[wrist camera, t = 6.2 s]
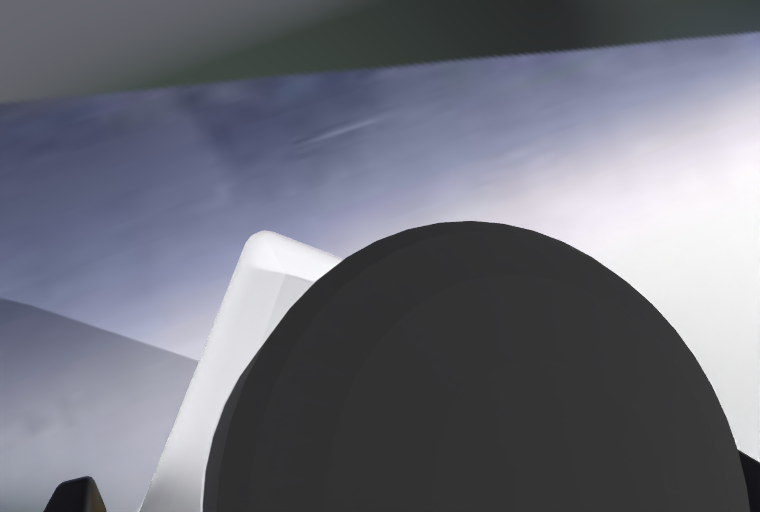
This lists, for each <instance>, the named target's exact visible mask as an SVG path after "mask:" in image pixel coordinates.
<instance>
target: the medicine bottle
mask: <svg viewBox="0 0 760 512" xmlns="http://www.w3.org/2000/svg"><path fill="white" fill-rule="evenodd" d="M140 512H750V506H749V499H748V492H747V486H746V482H745V478H744V474H743V469H742V465H741V461H740V457H739V453H738V450H737V447H736V444H735V441H734V438H733V435H732V432H731V429H730V426H729V424H728V421H727V418H726V416H725V413H724V411H723V409H722V407H721V405H720V403H719V400H718V398H717V396H716V394H715V392H714V389H713V387H712V385H711V384H710V382H709V380H708V378H707V377H706V375H705V373H704V372H703V370H702V368H701V366H700V365H699V363H698V361H697V360H696V358H695V356H694V355H693V353H692V352H691V351H690V349H689V348H688V347H687V345H686V344H685V343H684V341H683V340H682V338H681V337H680V336H679V334H678V333H677V332H676V330H675V329H674V328H673V327H672V326H671V324H670V323H669V322H668V321H667V320H666V319H665V318H664V317H663V316H662V314H661V313H660V312H659V311H658V310H657V309H656V308H655V307H654V306H653V305H652V304H651V303H650V302H649V301H648V300H647V299H646V298H645V297H643V296H642V295H641V294H640V293H639V292H638V291H637V290H635V289H634V288H633V287H632V286H631V285H630V284H629V283H627V282H626V281H625V280H623V279H622V278H621V277H619V276H618V275H617V274H615V273H614V272H612V271H611V270H609V269H608V268H607V267H605V266H604V265H602V264H601V263H599V262H598V261H597V260H595V259H594V258H592V257H590V256H589V255H587V254H585V253H583V252H581V251H579V250H577V249H575V248H574V247H572V246H570V245H568V244H566V243H564V242H562V241H559V240H556V239H554V238H551V237H549V236H546V235H543V234H541V233H538V232H535V231H532V230H528V229H523V228H519V227H515V226H511V225H506V224H500V223H489V222H477V221H463V222H445V223H436V224H432V225H427V226H422V227H417V228H412V229H408V230H405V231H402V232H400V233H397V234H394V235H391V236H389V237H386V238H383V239H381V240H378V241H376V242H374V243H372V244H370V245H368V246H367V247H365V248H363V249H361V250H359V251H358V252H356V253H354V254H352V255H350V256H349V257H347V258H345V259H343V258H341V257H338V256H335V255H333V254H330V253H328V252H325V251H322V250H320V249H317V248H314V247H312V246H309V245H307V244H304V243H301V242H299V241H296V240H293V239H291V238H288V237H286V236H283V235H280V234H278V233H275V232H272V231H264V230H263V231H261V232H258V233H256V234H253V235H252V236H251V237H250V238H249V240H248V241H247V242H246V243H245V246H244V249H243V251H242V254H241V256H240V259H239V261H238V264H237V266H236V269H235V271H234V274H233V276H232V279H231V281H230V284H229V286H228V289H227V292H226V294H225V297H224V299H223V302H222V304H221V307H220V309H219V312H218V314H217V317H216V319H215V322H214V324H213V327H212V330H211V332H210V335H209V337H208V340H207V342H206V345H205V347H204V350H203V352H202V355H201V357H200V360H199V362H198V365H197V367H196V370H195V373H194V375H193V378H192V380H191V383H190V385H189V388H188V390H187V393H186V395H185V398H184V400H183V403H182V405H181V408H180V410H179V413H178V416H177V418H176V421H175V423H174V426H173V428H172V431H171V433H170V436H169V438H168V441H167V443H166V446H165V448H164V451H163V453H162V456H161V459H160V461H159V464H158V466H157V469H156V471H155V474H154V476H153V479H152V481H151V484H150V486H149V489H148V491H147V494H146V496H145V499H144V502H143V504H142V507H141V509H140Z"/></svg>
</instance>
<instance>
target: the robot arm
mask: <svg viewBox="0 0 760 512" xmlns="http://www.w3.org/2000/svg"><path fill="white" fill-rule="evenodd" d="M737 450H738V449H737ZM738 453H739V457H740V461H741V465H742V469H743V474H744V478H745V482H746V486H747V492H748V499H749V506H750V512H760V462H758V461H756V460H755V459H753V458H751V457H750V456H748V455H746V454H745V453H743V452H741V451H740V450H738ZM43 512H106V508H105V505H104V503H103V500H102V498H101V495H100V493H99V490H98V488H97V485H96V483H95V481H94V479H93V478H92V477H90V476H85V477H81V478H77V479H72V480H68V481H64V482H62V483H61V484H60V485H58V487H57V488H56V490H55V491H54V493H53V495H52V497H51V499H50V500H49V502H48V504H47V506H46V508H45V510H44V511H43Z"/></svg>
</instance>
